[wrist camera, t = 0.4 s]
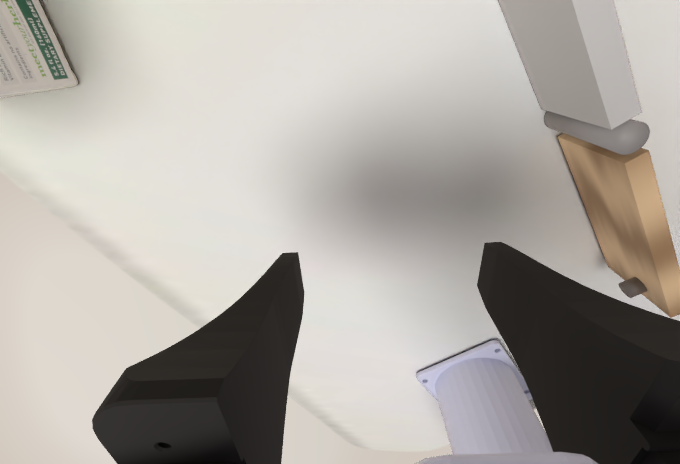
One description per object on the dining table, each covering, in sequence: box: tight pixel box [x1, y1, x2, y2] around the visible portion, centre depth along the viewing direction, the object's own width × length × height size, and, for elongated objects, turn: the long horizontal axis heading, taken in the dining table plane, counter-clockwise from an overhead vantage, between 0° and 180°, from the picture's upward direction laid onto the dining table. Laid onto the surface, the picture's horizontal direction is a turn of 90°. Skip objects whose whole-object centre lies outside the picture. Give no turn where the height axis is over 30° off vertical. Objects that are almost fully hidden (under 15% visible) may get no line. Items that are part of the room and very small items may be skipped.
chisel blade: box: [498, 0, 650, 155], centre depth 15 cm, size 9×1×6 cm, turn 36°
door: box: [558, 133, 680, 317], centre depth 19 cm, size 12×3×5 cm, turn 36°
